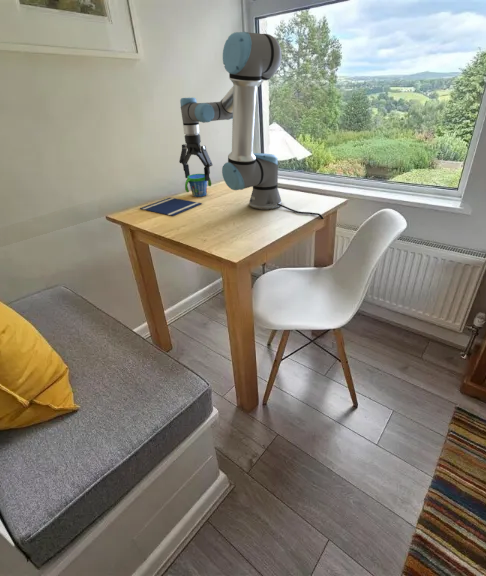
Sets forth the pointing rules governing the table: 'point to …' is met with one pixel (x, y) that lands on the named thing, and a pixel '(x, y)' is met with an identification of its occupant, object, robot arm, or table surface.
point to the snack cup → (197, 184)
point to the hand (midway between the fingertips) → (197, 179)
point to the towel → (171, 206)
